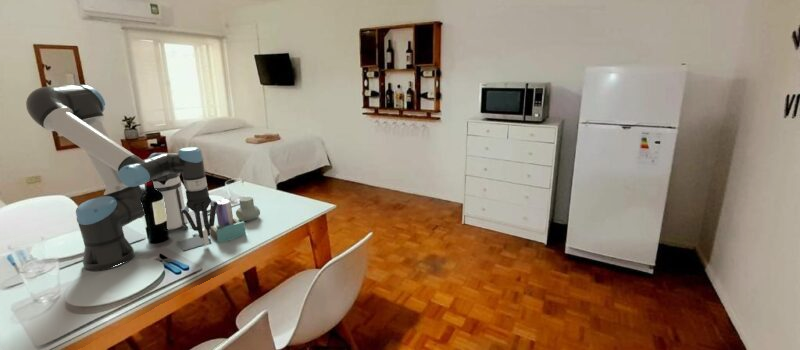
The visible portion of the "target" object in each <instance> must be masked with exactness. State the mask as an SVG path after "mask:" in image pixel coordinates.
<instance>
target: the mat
mask: <svg viewBox="0 0 800 350" xmlns="http://www.w3.org/2000/svg"><path fill="white" fill-rule="evenodd" d="M176 243H177V245H178V246H179V248H180V249H181V250H182V251H183V252H186V251H189V250H193V249H197V248H199V247H203V246H205V245H204V244H203V239H202V238H200V237H199V235H195V236H192V237H188V238H184V239H181V240H178V241H176ZM210 244H212V241H210V240H209V245H210Z"/></svg>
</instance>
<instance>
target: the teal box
mask: <svg viewBox="0 0 800 350" xmlns="http://www.w3.org/2000/svg"><path fill="white" fill-rule="evenodd" d="M238 222H239V223H235V224H231V225H228V226H224V227H223V225H222V224H221V225H218V224H217V225H216V228H217V229H216V233H217V239H218V241H217V243H218V244H220V243H224V242H227V241H231V240H234V239H238V238H241V237H244V236H247V232H246V226H245V221H242V220H241V221H238Z"/></svg>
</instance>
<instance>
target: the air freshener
mask: <svg viewBox="0 0 800 350" xmlns="http://www.w3.org/2000/svg"><path fill="white" fill-rule="evenodd" d="M253 198H254V197H252V196H245V197H241V198H240V199H239V208H237V209H236V211H235V214H236V215H235V216H236V217H237V219H238V220H240V221H241V222H242V221H243V222H250V221H253V220H255V219H257V218H258V217H259V216H260V215H261V210H260V208H259V207H258V206H256V205H255V203H254V199H253Z"/></svg>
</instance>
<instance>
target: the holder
mask: <svg viewBox="0 0 800 350" xmlns="http://www.w3.org/2000/svg"><path fill="white" fill-rule="evenodd" d="M233 221H234V224H235V223H239V222H240V221H238V220H237V219H236V218H234V217H233ZM216 229H217V227H215V225H214V226H211V227H210V236H212V237H213V238H214V239H215V240H216V241H217V242H218V239H217V233H216Z"/></svg>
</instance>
